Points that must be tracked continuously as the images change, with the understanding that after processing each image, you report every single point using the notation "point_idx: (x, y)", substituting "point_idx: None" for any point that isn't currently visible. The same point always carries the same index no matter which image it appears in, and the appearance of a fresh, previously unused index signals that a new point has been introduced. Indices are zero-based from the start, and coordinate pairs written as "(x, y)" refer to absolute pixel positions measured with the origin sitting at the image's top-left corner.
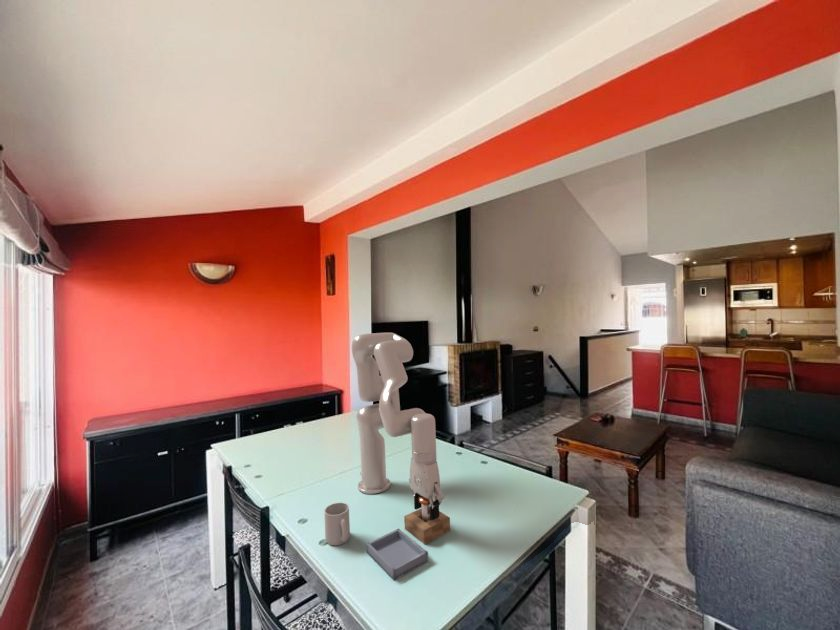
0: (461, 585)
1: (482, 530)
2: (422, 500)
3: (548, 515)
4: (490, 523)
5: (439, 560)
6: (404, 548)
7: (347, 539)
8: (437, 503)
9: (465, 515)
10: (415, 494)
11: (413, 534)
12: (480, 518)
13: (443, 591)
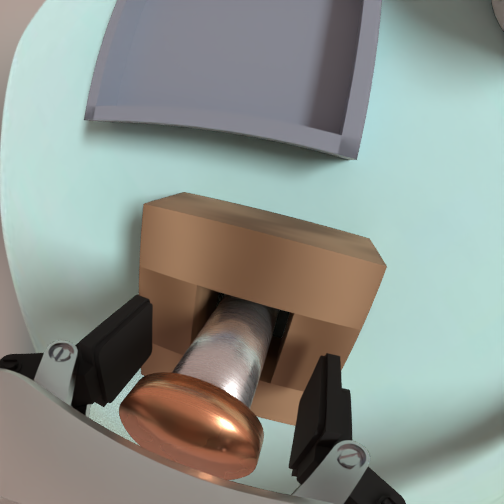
0: (18, 133)
1: None
2: (159, 399)
3: None
4: None
5: (86, 157)
6: (229, 86)
7: (500, 20)
8: (10, 355)
9: None
10: (324, 458)
11: (281, 216)
12: None
13: (34, 81)
